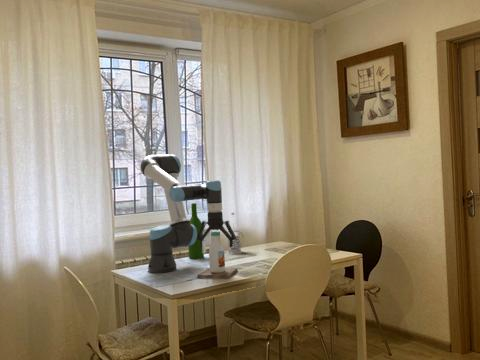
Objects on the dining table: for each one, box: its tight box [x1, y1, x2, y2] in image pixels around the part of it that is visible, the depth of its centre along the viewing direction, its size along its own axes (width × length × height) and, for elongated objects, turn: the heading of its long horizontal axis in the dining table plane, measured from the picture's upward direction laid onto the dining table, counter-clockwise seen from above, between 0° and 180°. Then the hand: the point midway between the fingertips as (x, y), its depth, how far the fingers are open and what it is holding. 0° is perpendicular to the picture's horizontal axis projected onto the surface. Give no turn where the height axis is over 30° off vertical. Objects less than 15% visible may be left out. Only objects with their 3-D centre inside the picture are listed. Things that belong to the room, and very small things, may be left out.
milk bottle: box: [208, 231, 226, 273], centre depth 245 cm, size 8×8×20 cm
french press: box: [226, 212, 245, 255], centre depth 302 cm, size 10×12×25 cm
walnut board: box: [196, 267, 238, 280], centre depth 245 cm, size 16×16×2 cm
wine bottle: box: [187, 203, 205, 260], centre depth 292 cm, size 9×9×32 cm
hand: (216, 253), depth 245 cm, fingers open, 13 cm apart
